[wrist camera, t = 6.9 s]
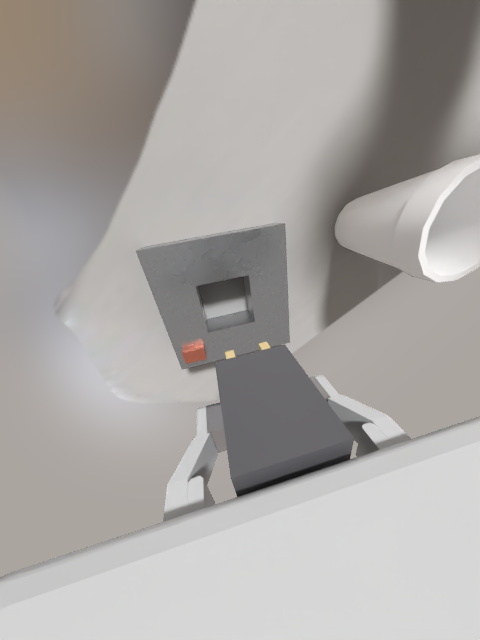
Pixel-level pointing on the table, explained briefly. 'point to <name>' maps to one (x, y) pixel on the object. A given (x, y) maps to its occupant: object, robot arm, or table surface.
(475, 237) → the foam cup
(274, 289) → the socket
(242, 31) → the table surface
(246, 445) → the plug
